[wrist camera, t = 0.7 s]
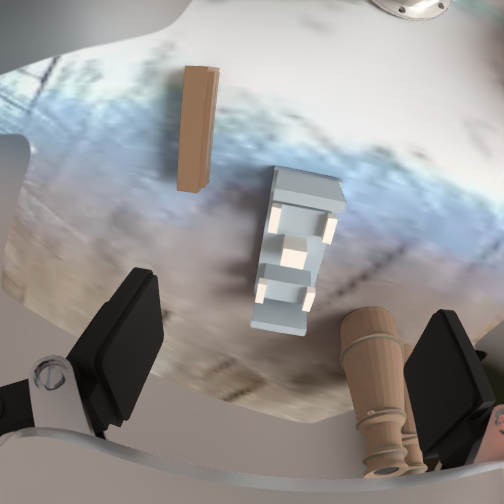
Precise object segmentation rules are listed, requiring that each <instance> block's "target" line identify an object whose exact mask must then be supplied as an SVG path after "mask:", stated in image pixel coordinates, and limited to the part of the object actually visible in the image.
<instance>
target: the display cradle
mask: <svg viewBox="0 0 504 504" xmlns="http://www.w3.org/2000/svg"><path fill="white" fill-rule="evenodd" d="M342 184H343V182H342V180H341V179H340V178H336V177H331V176H326V175H322V174H317V173H312V172H307V171H302V170H297V169H291V168H286V167H280V166H275V169H274V175H273V181H272V187H271V193H270V199H269V205H268V211H267V217H266V222H265V228H264V234H263V240H262V246H261V252H260V258H259V263H258V269H257V275H256V281H255V287H254V292H253V295H256V299H255V305H254V310H253V315H252V320H251V325H250V327H253V328H258V329H263V330H269V331H275V332H280V333H286V334H292V335H299V336H305V333H306V330H307V312H310V309H311V306H312V303H313V300H314V297H315V288H314V284H315V281H316V277H317V274H318V271H319V267H320V264H321V261H322V257H323V254H324V250H325V247H326V243H328V244H331V241H332V238H333V234H334V231H335V227H336V224H337V220H338V219H337V215H334V214H335V212H337V213H342V214H343V213H344V210H345V206H346V200H345V197H344V195H343V192H342V189H341V188H342Z"/></svg>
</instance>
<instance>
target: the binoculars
mask: <svg viewBox="0 0 504 504" xmlns="http://www.w3.org/2000/svg"><path fill="white" fill-rule="evenodd" d="M339 333H340V338H341V349H342V352H341V354H340V359H339V361H340V366H341V367H342V369H343V370H344V371H345V373H346V377H347V381H348V385H349V389H350V393H351V397H352V401H353V406H354V410H355V414H356V418H357V424H356V429H357V430H358V431H359V432H360V433H361V434H363V435H365V436H366V452H367V454H366V455H365V456H364V458H363V464H364V465H367V470H366V471H365V473H364V478H365V479H368V478H384V477H395V476H404V475H413V474H420V473H424V472H425V471H426V470H427V467H426V465H425V464H423V459H422V452H421V450H420V447H419V442H418V437H417V432H416V427H415V422H414V417H413V412H412V408H411V403H410V399H409V395H408V390H407V386H406V382H405V378H404V374H403V368H404V365H405V363H406V361H407V360H408V358H409V356H410V355H411V353H412V351H413V348H412V347H411V346H409V345H407V344H403V343H402V341H401V340H400V339H399V338H398V335H397V331H396V328H395V324H394V319H393V317H392V315H391V314H390V313H389V311H387V310H385V309H383V308H380V307H364V308H360V309H358V310H355V311H353V312H352V313H350V314H349V315H347V316H346V318H345V319H344V320H343V321H342V323H341V325H340V329H339Z"/></svg>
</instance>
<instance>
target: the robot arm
mask: <svg viewBox="0 0 504 504" xmlns="http://www.w3.org/2000/svg"><path fill="white" fill-rule="evenodd" d="M371 1H372V2H373V3H375V4H376V5H378V6H379V7H380V8H382V9H383V10H385V11H387V12H389V13H391V14H393V15H396V16H398V17H401V18H405V19H409V20H419V21H421V20H429V19H432V18H435V17H437V16H439V15H441V14H443V13H444V12H445V11H446V10H447V9H448V7H449V6H450V4H451V1H452V0H371ZM438 6H439V7H440V8H439V7H438ZM399 10H401V12H399ZM163 339H164V331H163V323H162V315H161V306H160V297H159V287H158V278H157V276H156V275H153V272H152V270H149V269H143V268H137V267H135V268H133V269H132V271H131V272H130V273H129V275H128V276H127V277H126V279H125V280H124V281H123V283H122V284H121V285H120V287H119V288H118V289H117V291H116V292H115V293H114V295H113V296H112V297H111V299H110V300H109V301H108V302H105V303H104V305H103V306H102V307H101V308H100V310H99V311H98V312H97V314H96V315H95V317H94V318H93V319H92V321H91V322H90V324H89V325H88V326H87V328H86V329H85V331H84V332H83V334H82V335H81V337H80V338H79V339H78V341H77V342H76V344H75V345H74V347H73V348H72V350H71V351H70V353H69V354H68V356H67V357H66V358H63V357H61V356H57V355H52V356H51V355H50V356H46V357H43V358H41V359H40V360H38V361H37V362H36V363H35V364H34V365H33V366H32V367H31V370H30V372H29V379H25V380H23V381H19V382H16V383H13V384H9V385H6V386H2V387H0V504H504V405H499V406H496V407H495V408H494V409H493V406H492V405H493V404H494V402H495V401H496V399H495V396H494V394H493V391H492V389H491V386H490V384H489V382H488V380H487V377H486V375H485V372H484V370H483V368H482V365H481V363H480V361H479V359H478V356H477V354H476V352H475V350H474V348H473V346H472V344H471V342H470V340H469V338H468V336H467V334H466V332H465V330H464V328H463V326H462V324H461V322H460V320H459V318H458V316H457V314H456V313H455V311H453V310H443V309H440V310H438V311H437V312H436V313H434V314H433V315H432V317H431V319H430V321H429V323H428V324H427V326H426V328H425V330H424V332H423V334H422V335H421V337H420V339H419V341H418V343H417V344H416V346H415V348H414V350H413V351H412V353H411V355H410V356H409V358H408V360H407V361H406V363H405V365H404V368H403V374H404V378H405V382H406V386H407V390H408V395H409V399H410V403H411V408H412V412H413V417H414V422H415V427H416V432H417V437H418V442H419V447H420V450H421V451H423V454H424V458H425V459H426V458H433V457H437V456H439V458H440V461H439V463H438V465H437V467H436V468H435V470H434V471H433V472H427V473H420V474H413V475H404V476H395V477H384V478H368V479H338V480H337V479H299V478H284V477H272V476H263V475H253V474H246V473H238V472H233V471H226V470H220V469H215V468H210V467H204V466H200V465H195V464H190V463H186V462H182V461H177V460H173V459H169V458H165V457H161V456H158V455H154V454H150V453H147V452H143V451H140V450H136V449H133V448H130V447H126V446H123V445H120V444H117V443H114V442H111V441H109V440H108V438H107V435H106V432H105V431H106V430H107V429H108V426H109V424H112V425H115V426H118V427H121V425H122V423H123V420H125V421H127V420H128V419H129V418H130V416H131V413H132V411H133V409H134V406H135V404H136V402H137V399H138V397H139V395H140V393H141V390H142V388H143V386H144V383H145V381H146V379H147V376H148V374H149V372H150V370H151V368H152V365H153V363H154V361H155V359H156V356H157V354H158V352H159V350H160V348H161V345H162V343H163Z"/></svg>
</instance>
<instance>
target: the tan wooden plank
mask: <svg viewBox="0 0 504 504" xmlns="http://www.w3.org/2000/svg"><path fill="white" fill-rule="evenodd" d="M219 73H220V72H219V68H214V67H205V66H185V74H184V84H183V95H182V107H181V120H180V135H179V153H178V176H177V191H184V192H191V193H198V192H199V191H200V189H201V188H205V186H206V185H207V184H208V183H209V174H210V162H211V150H212V139H213V128H214V118H215V109H216V99H217V90H218V82H219Z"/></svg>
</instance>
